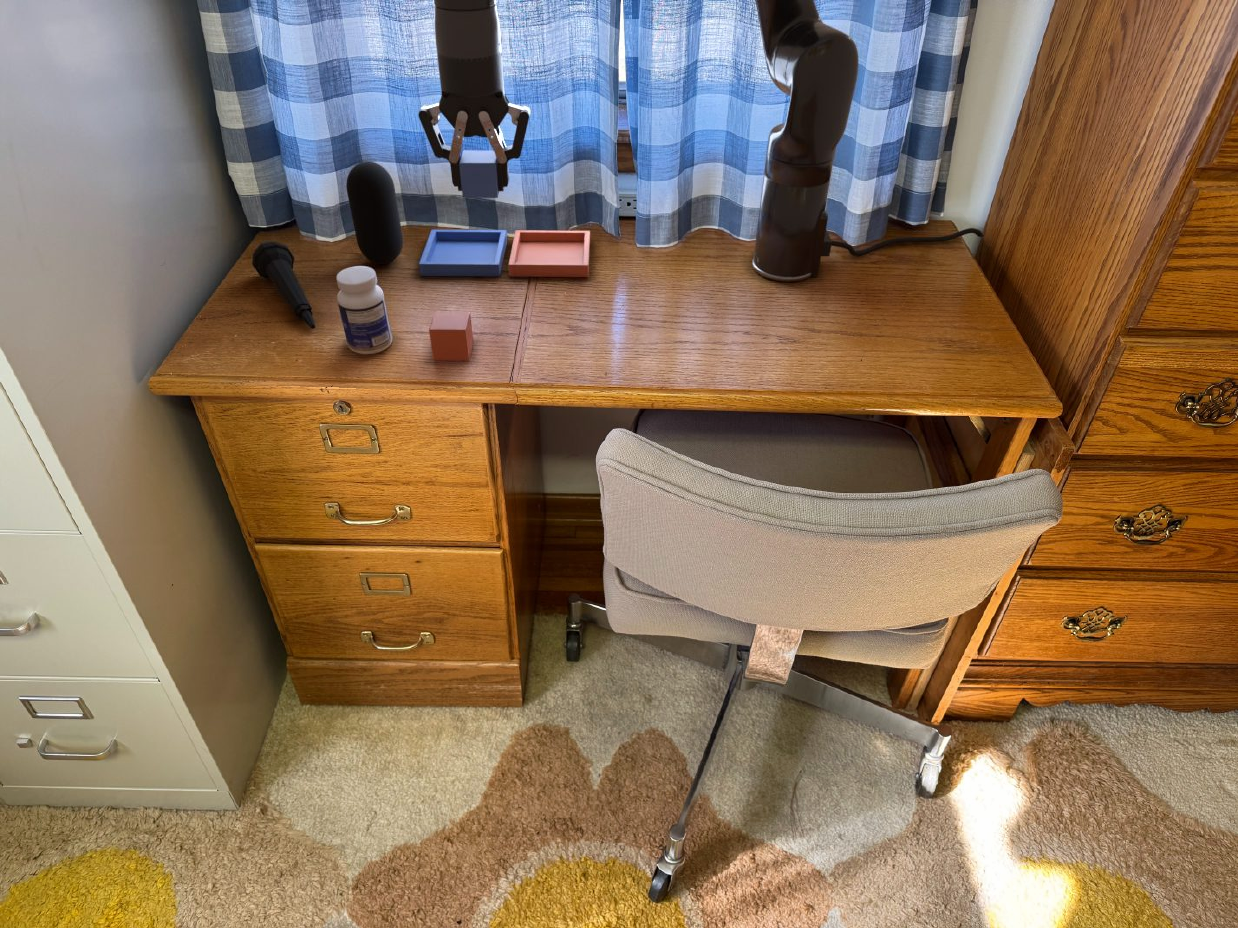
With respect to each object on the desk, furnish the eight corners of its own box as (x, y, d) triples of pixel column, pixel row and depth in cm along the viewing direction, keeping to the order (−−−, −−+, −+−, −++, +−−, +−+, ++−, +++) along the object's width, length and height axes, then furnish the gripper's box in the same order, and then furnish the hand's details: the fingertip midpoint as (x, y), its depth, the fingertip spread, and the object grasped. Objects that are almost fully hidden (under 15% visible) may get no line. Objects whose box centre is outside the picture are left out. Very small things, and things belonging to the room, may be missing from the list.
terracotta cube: (473, 341, 111) (470, 311, 108) (469, 360, 107) (465, 329, 104) (439, 341, 111) (434, 311, 108) (433, 360, 107) (428, 329, 104)
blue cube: (500, 184, 112) (498, 150, 109) (497, 198, 109) (495, 163, 106) (466, 184, 112) (463, 150, 109) (462, 198, 109) (458, 163, 106)
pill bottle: (351, 333, 112) (336, 264, 106) (395, 331, 112) (382, 262, 106) (344, 357, 108) (328, 286, 101) (390, 355, 108) (376, 285, 102)
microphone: (330, 344, 115) (284, 269, 126) (336, 308, 112) (288, 234, 123) (289, 345, 112) (245, 268, 123) (294, 308, 109) (249, 231, 120)
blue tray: (507, 241, 133) (506, 230, 132) (499, 276, 125) (498, 264, 123) (433, 240, 133) (431, 229, 132) (420, 275, 124) (418, 264, 123)
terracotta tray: (590, 242, 134) (590, 230, 132) (588, 277, 125) (588, 265, 123) (516, 241, 133) (515, 230, 132) (509, 276, 125) (508, 264, 123)
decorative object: (407, 269, 126) (390, 170, 116) (361, 274, 125) (341, 173, 115) (405, 250, 131) (389, 152, 121) (361, 254, 129) (341, 156, 120)
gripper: (402, 55, 96) (422, 200, 107) (528, 56, 97) (535, 201, 108) (412, 38, 102) (430, 177, 113) (531, 39, 103) (538, 178, 113)
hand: (481, 188), depth 110 cm, fingers closed on blue cube, 4 cm apart
